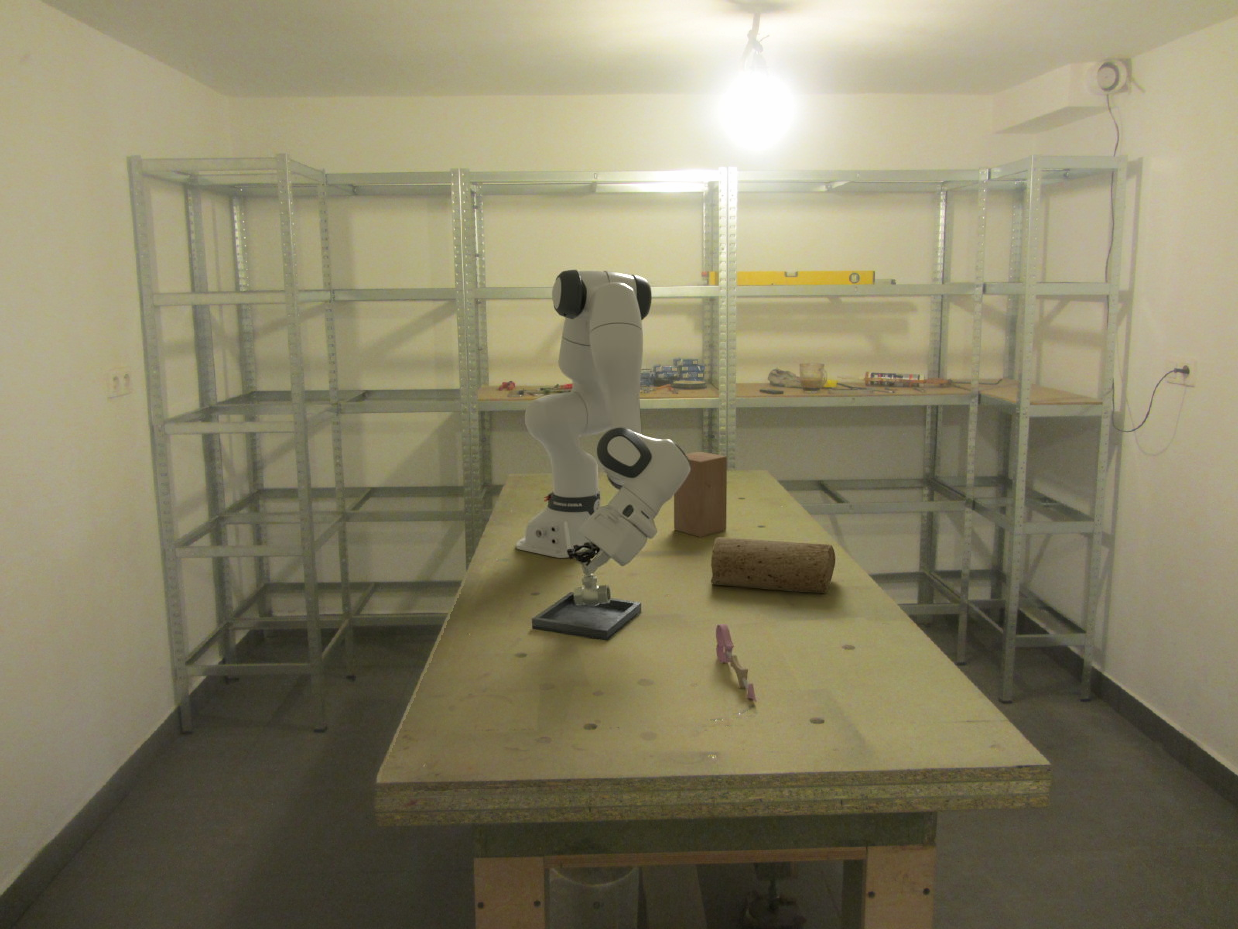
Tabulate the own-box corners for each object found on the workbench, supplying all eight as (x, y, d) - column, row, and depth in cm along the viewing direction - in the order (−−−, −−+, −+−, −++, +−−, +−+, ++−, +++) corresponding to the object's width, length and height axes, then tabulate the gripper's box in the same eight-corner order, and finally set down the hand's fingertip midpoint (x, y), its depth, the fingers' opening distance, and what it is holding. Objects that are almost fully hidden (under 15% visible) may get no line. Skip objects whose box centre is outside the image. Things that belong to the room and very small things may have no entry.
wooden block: (700, 538, 232) (700, 461, 228) (673, 530, 239) (672, 456, 235) (727, 530, 239) (727, 456, 234) (699, 523, 246) (699, 450, 242)
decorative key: (750, 722, 143) (714, 652, 161) (758, 721, 143) (721, 652, 161) (754, 685, 140) (716, 619, 159) (761, 685, 141) (723, 619, 159)
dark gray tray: (532, 628, 174) (531, 618, 174) (570, 601, 189) (570, 592, 188) (607, 641, 168) (606, 631, 167) (641, 611, 182) (641, 602, 182)
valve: (606, 611, 174) (595, 553, 171) (574, 613, 176) (562, 556, 172) (613, 596, 180) (603, 540, 177) (582, 599, 182) (571, 543, 179)
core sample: (716, 570, 207) (716, 528, 205) (834, 579, 200) (836, 535, 198) (704, 590, 194) (704, 545, 192) (830, 601, 187) (832, 554, 185)
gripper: (600, 491, 185) (556, 543, 184) (638, 514, 167) (590, 572, 165) (621, 510, 188) (578, 561, 186) (661, 535, 169) (613, 592, 168)
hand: (584, 567), depth 176 cm, fingers closed on valve, 3 cm apart
